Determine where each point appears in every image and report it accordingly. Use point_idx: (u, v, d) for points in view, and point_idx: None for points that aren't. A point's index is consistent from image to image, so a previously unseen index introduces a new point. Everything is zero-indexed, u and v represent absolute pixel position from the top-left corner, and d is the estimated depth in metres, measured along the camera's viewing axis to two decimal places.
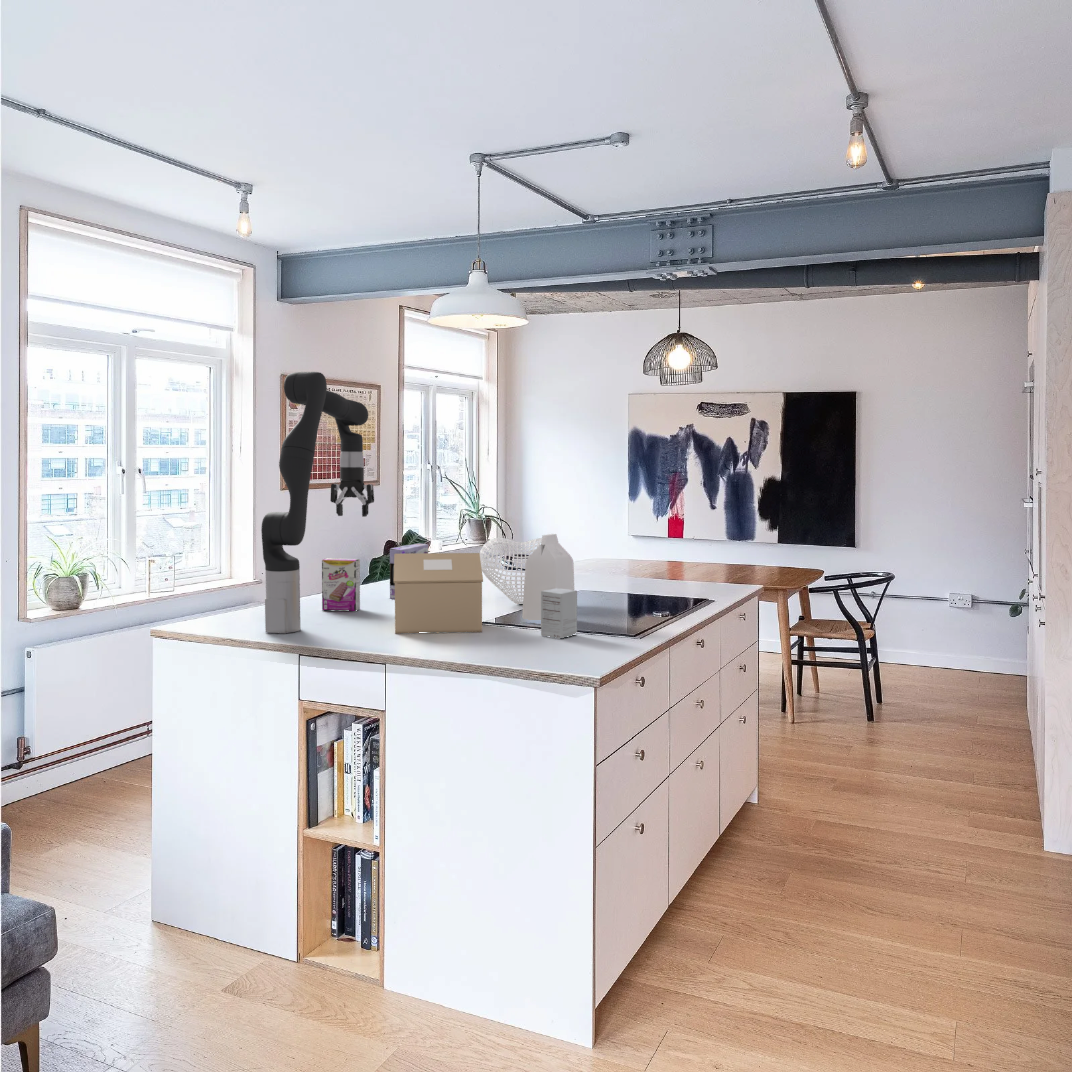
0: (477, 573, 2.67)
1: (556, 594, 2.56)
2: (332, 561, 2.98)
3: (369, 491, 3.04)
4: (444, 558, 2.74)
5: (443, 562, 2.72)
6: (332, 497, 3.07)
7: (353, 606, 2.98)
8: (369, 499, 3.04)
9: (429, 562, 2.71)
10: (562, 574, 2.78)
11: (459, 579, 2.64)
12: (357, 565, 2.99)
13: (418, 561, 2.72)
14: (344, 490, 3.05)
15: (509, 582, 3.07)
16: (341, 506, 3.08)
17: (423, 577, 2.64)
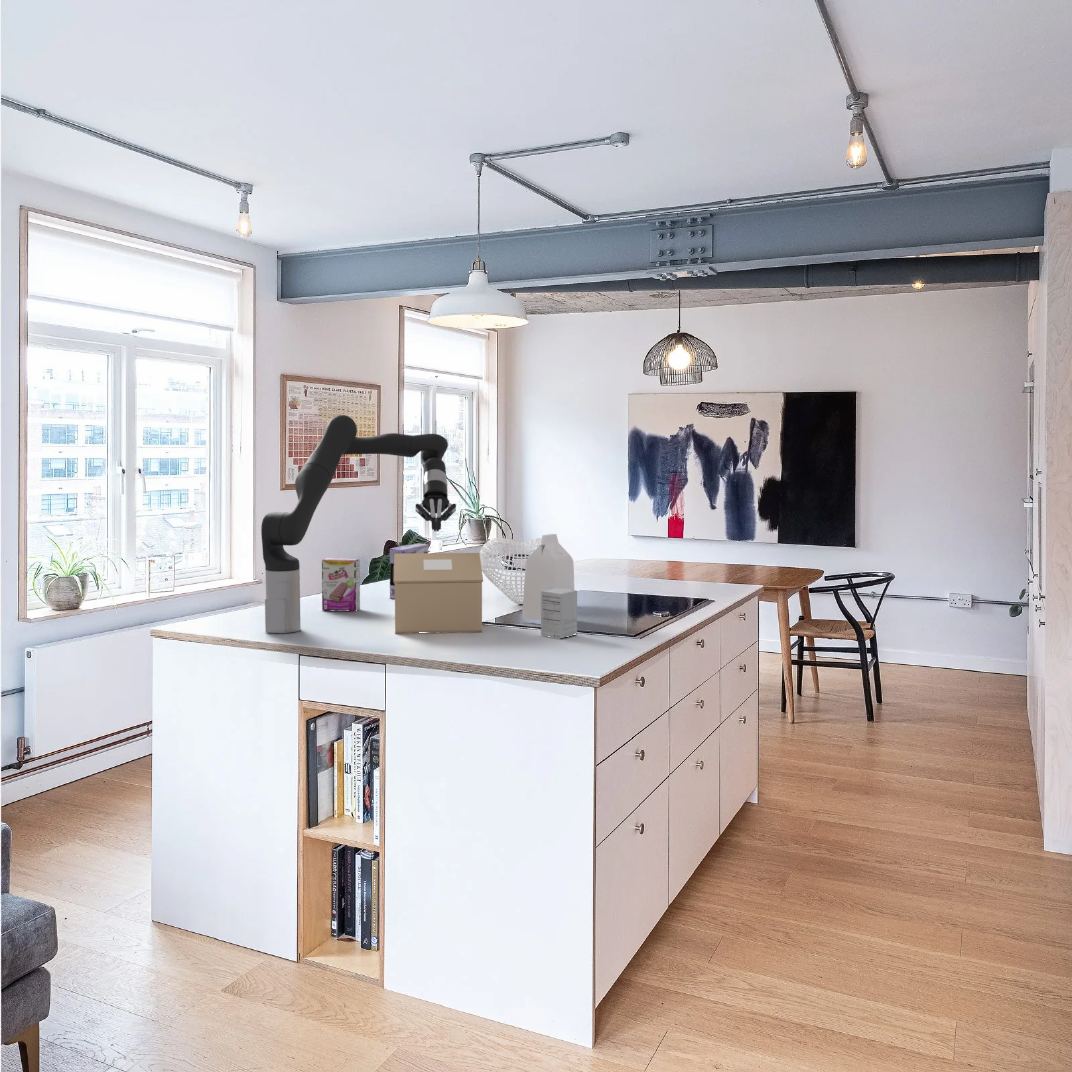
0: (477, 573, 2.67)
1: (556, 594, 2.56)
2: (332, 561, 2.98)
3: None
4: (444, 558, 2.74)
5: (443, 562, 2.72)
6: None
7: (353, 606, 2.98)
8: None
9: (429, 562, 2.71)
10: (562, 574, 2.78)
11: (459, 579, 2.64)
12: (357, 565, 2.99)
13: (418, 561, 2.72)
14: None
15: (509, 582, 3.07)
16: None
17: (423, 577, 2.64)
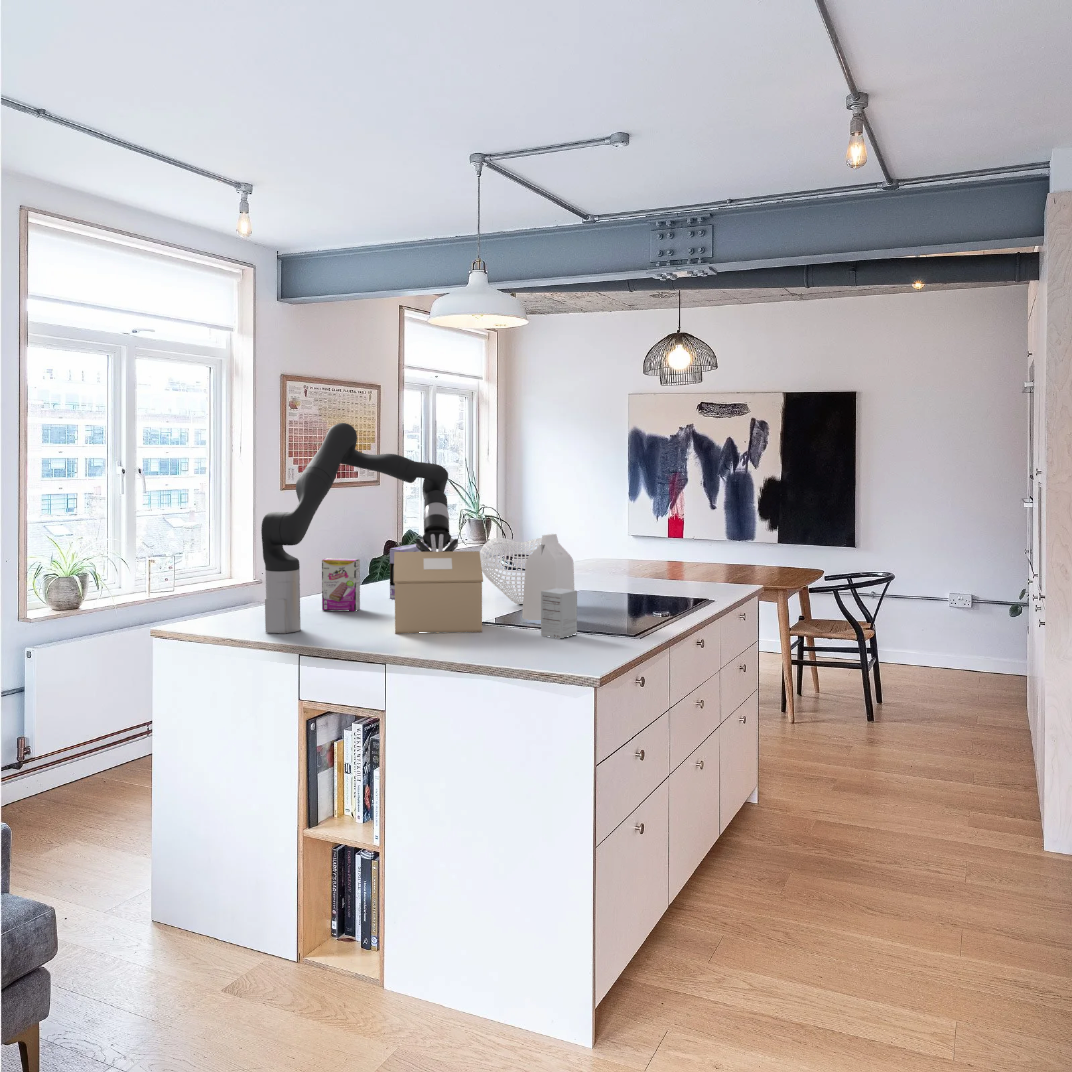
0: (477, 573, 2.67)
1: (556, 594, 2.56)
2: (332, 561, 2.98)
3: None
4: (444, 556, 2.74)
5: (443, 561, 2.72)
6: None
7: (353, 606, 2.98)
8: None
9: (429, 561, 2.71)
10: (562, 574, 2.78)
11: (459, 579, 2.64)
12: (357, 565, 2.99)
13: (418, 560, 2.71)
14: None
15: (509, 582, 3.07)
16: None
17: (423, 577, 2.64)
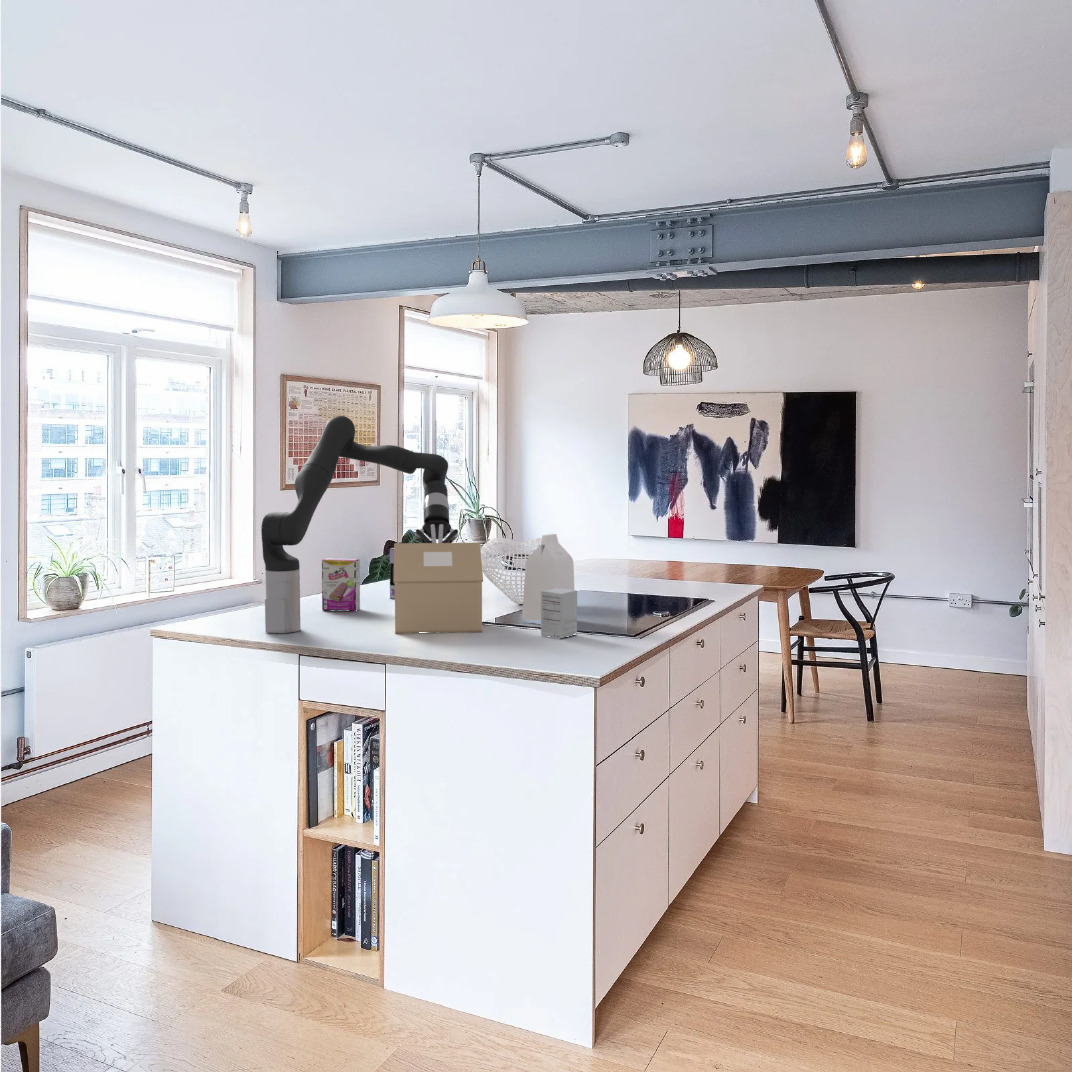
0: (477, 571, 2.66)
1: (556, 594, 2.56)
2: (332, 561, 2.98)
3: None
4: (445, 549, 2.73)
5: (443, 556, 2.70)
6: None
7: (353, 606, 2.98)
8: None
9: (429, 556, 2.70)
10: (562, 574, 2.78)
11: (459, 579, 2.64)
12: (357, 565, 2.99)
13: (418, 554, 2.70)
14: None
15: (509, 582, 3.07)
16: None
17: (423, 576, 2.63)
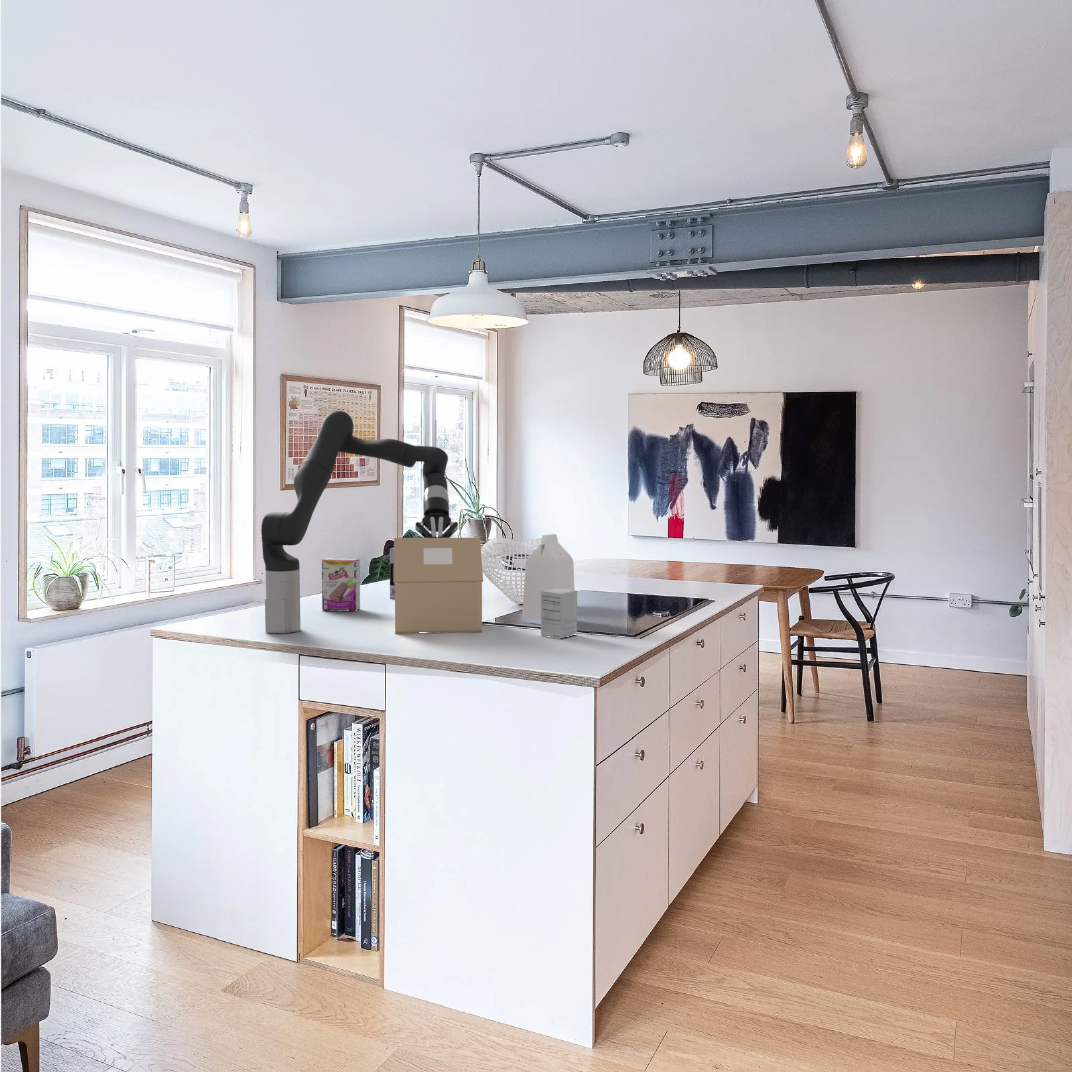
0: (477, 570, 2.66)
1: (556, 594, 2.56)
2: (332, 561, 2.98)
3: None
4: (445, 545, 2.71)
5: (443, 552, 2.69)
6: None
7: (353, 606, 2.99)
8: None
9: (429, 553, 2.69)
10: (562, 574, 2.78)
11: (459, 579, 2.63)
12: (357, 565, 2.99)
13: (418, 550, 2.69)
14: None
15: (509, 582, 3.07)
16: None
17: (423, 576, 2.63)
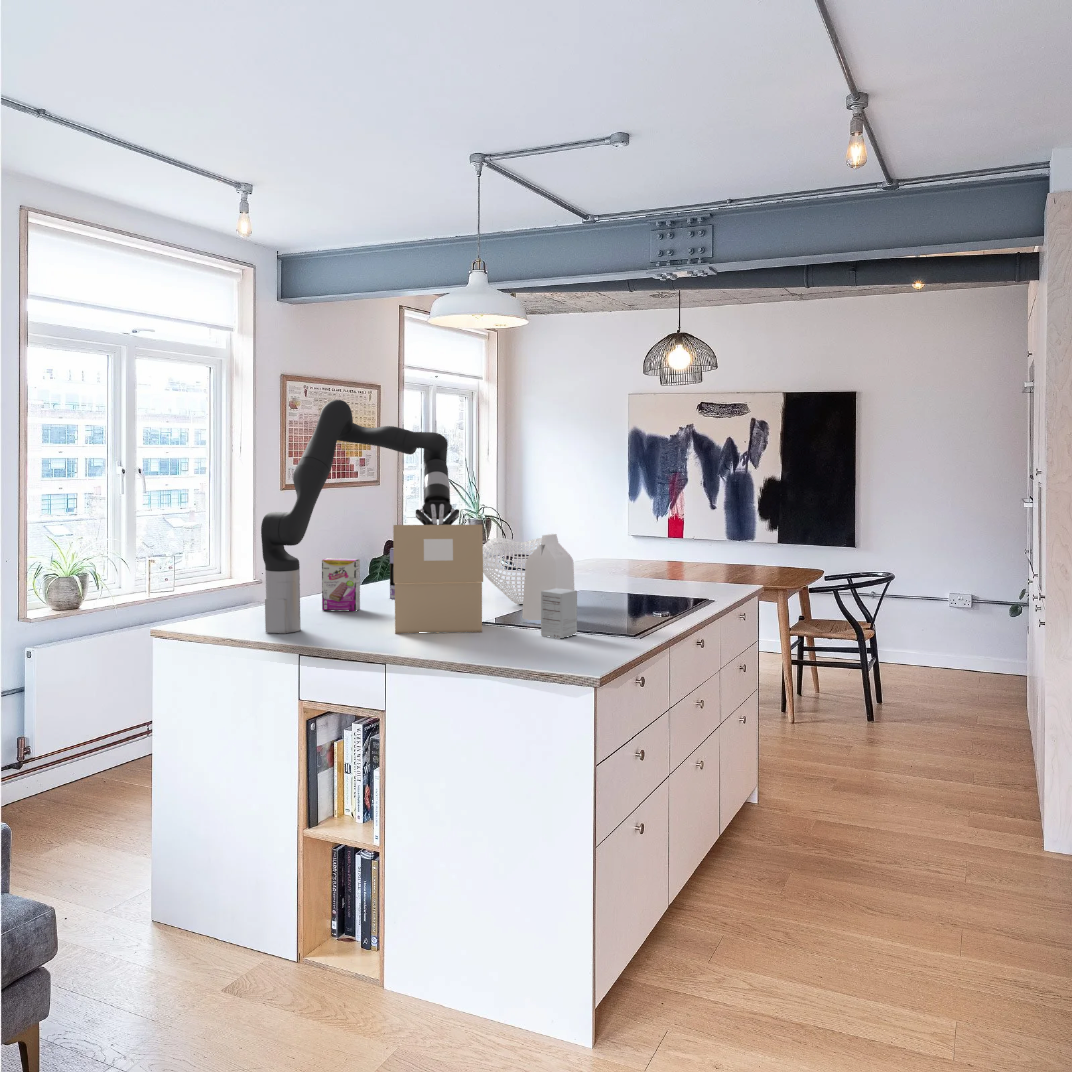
0: (477, 569, 2.64)
1: (556, 594, 2.56)
2: (332, 561, 2.98)
3: None
4: (446, 535, 2.64)
5: (444, 545, 2.64)
6: None
7: (353, 606, 2.98)
8: None
9: (430, 546, 2.63)
10: (562, 574, 2.78)
11: (459, 580, 2.63)
12: (357, 565, 2.99)
13: (418, 542, 2.63)
14: None
15: (509, 582, 3.07)
16: None
17: (423, 575, 2.62)
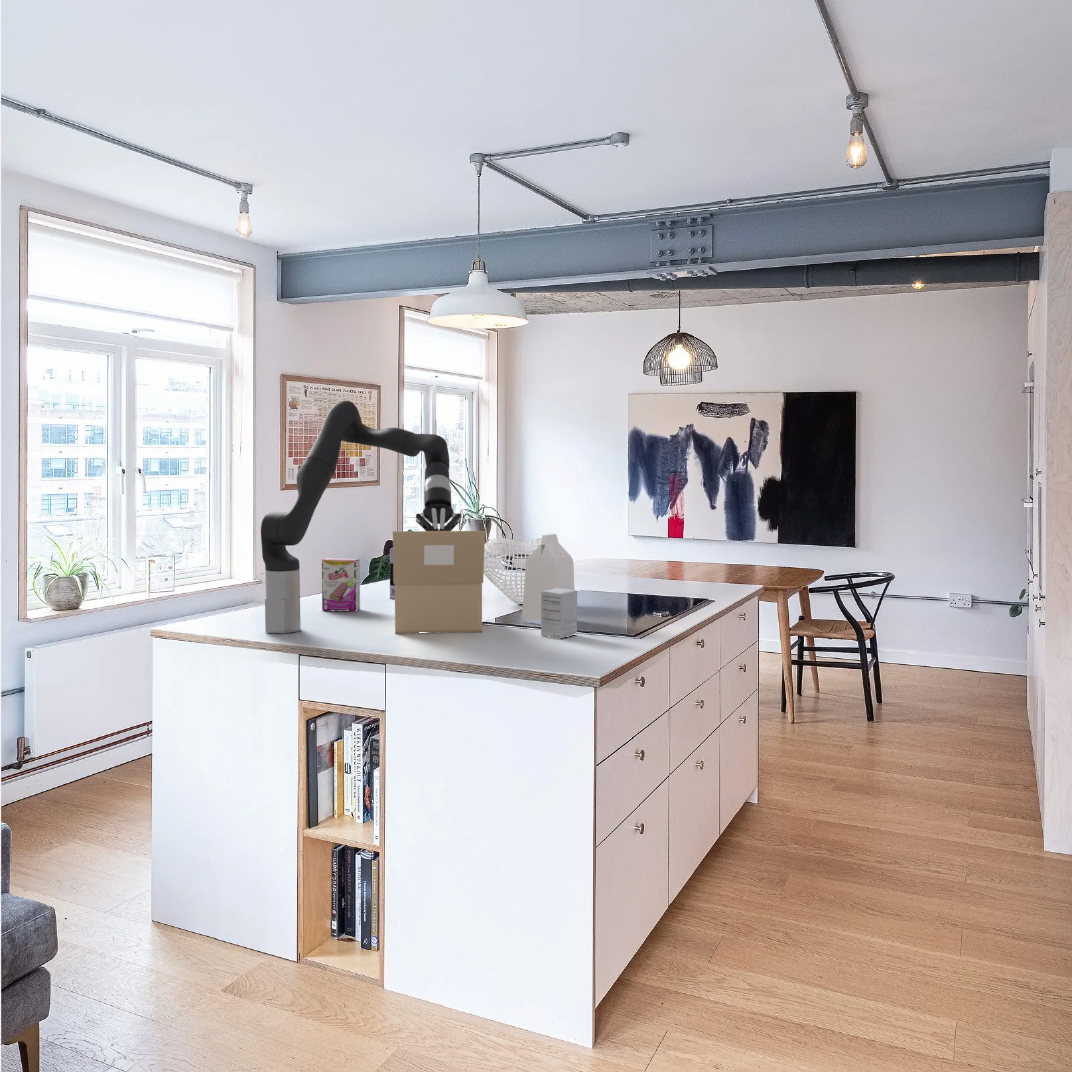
0: (478, 572, 2.62)
1: (556, 594, 2.56)
2: (332, 561, 2.98)
3: None
4: (447, 541, 2.57)
5: (445, 551, 2.58)
6: None
7: (353, 606, 2.98)
8: None
9: (430, 551, 2.57)
10: (562, 574, 2.78)
11: (459, 581, 2.63)
12: (357, 565, 2.99)
13: (418, 548, 2.56)
14: None
15: (509, 582, 3.07)
16: None
17: (423, 578, 2.61)
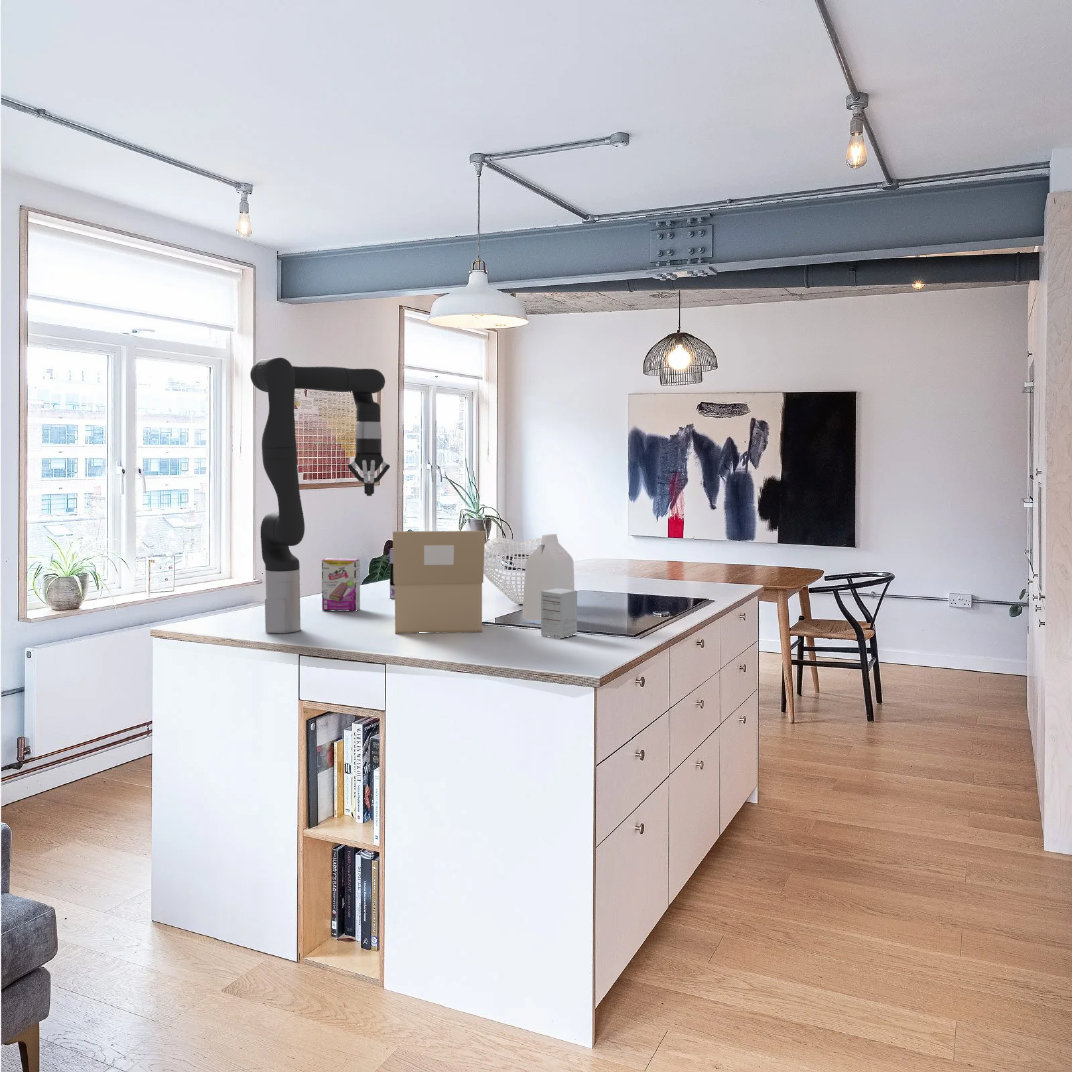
0: (478, 572, 2.62)
1: (556, 594, 2.56)
2: (332, 561, 2.98)
3: None
4: (447, 541, 2.57)
5: (445, 551, 2.58)
6: None
7: (353, 606, 2.98)
8: None
9: (430, 552, 2.57)
10: (562, 574, 2.78)
11: (459, 581, 2.63)
12: (357, 565, 2.99)
13: (418, 548, 2.56)
14: None
15: (509, 582, 3.07)
16: None
17: (423, 578, 2.61)
